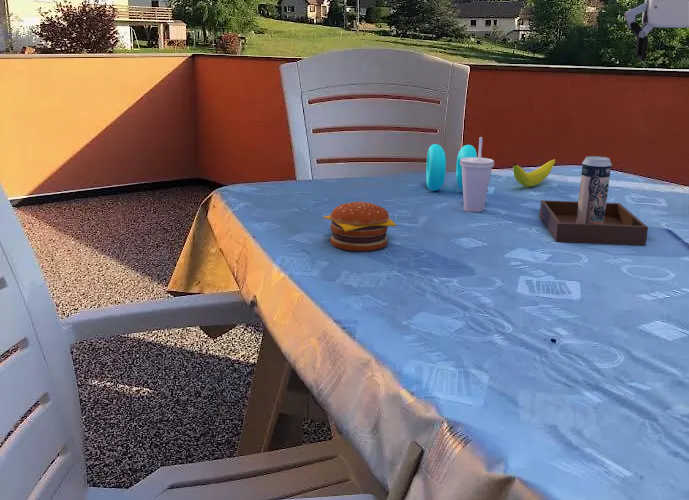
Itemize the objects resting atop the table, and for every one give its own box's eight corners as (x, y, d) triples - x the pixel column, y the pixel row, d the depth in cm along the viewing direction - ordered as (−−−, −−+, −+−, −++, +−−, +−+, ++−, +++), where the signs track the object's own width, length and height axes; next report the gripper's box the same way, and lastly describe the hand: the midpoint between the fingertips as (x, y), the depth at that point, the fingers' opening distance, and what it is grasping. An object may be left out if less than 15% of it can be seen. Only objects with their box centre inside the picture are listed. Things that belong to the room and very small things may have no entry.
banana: (558, 181, 166) (561, 154, 164) (517, 192, 152) (520, 163, 150) (546, 179, 168) (549, 152, 166) (505, 190, 154) (508, 161, 152)
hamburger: (347, 255, 107) (347, 212, 105) (320, 239, 115) (320, 199, 113) (400, 248, 111) (401, 206, 109) (371, 233, 119) (371, 194, 117)
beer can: (592, 231, 120) (600, 161, 117) (569, 225, 124) (576, 157, 120) (609, 227, 123) (618, 158, 119) (587, 221, 126) (594, 154, 123)
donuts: (424, 185, 158) (427, 140, 155) (469, 186, 158) (472, 141, 155) (428, 195, 149) (430, 147, 146) (476, 196, 148) (479, 148, 145)
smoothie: (474, 215, 132) (479, 140, 128) (450, 208, 137) (454, 136, 133) (497, 210, 136) (503, 137, 132) (473, 204, 141) (478, 133, 137)
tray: (617, 219, 131) (619, 203, 130) (645, 245, 115) (648, 227, 114) (539, 216, 132) (540, 200, 131) (555, 241, 116) (557, 223, 115)
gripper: (724, -37, 129) (708, 61, 134) (626, -37, 130) (614, 59, 135) (742, -41, 122) (725, 62, 127) (637, -42, 123) (625, 60, 128)
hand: (667, 60), depth 131 cm, fingers open, 9 cm apart
